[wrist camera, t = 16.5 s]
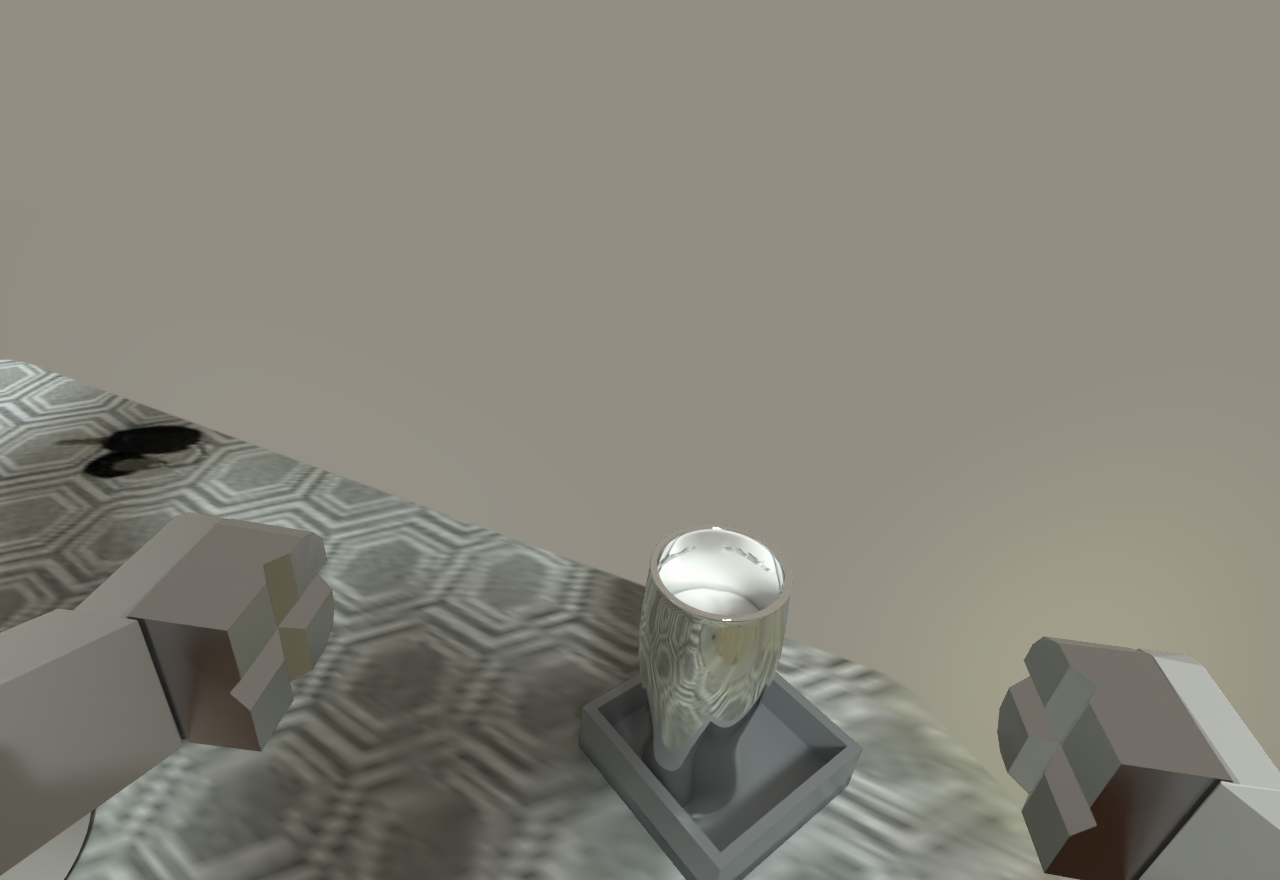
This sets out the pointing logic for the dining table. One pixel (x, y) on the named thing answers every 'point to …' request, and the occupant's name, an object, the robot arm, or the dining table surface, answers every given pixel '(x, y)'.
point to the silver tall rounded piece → (708, 657)
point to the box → (770, 788)
